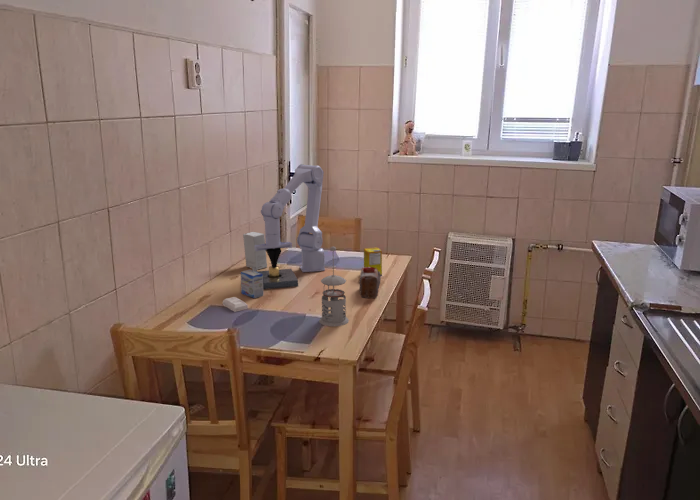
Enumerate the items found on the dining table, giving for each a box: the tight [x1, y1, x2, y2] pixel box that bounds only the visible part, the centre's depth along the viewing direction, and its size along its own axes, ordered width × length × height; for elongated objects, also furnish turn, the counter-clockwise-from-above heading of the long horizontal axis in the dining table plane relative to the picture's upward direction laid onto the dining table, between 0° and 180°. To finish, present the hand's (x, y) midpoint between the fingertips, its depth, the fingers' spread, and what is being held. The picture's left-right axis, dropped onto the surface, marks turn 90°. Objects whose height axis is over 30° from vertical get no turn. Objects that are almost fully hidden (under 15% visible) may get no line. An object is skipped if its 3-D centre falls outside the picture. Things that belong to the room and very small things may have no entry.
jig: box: [251, 267, 299, 290], centre depth 223 cm, size 16×16×4 cm
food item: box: [358, 267, 382, 299], centre depth 210 cm, size 14×8×10 cm, turn 178°
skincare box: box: [242, 231, 268, 271], centre depth 242 cm, size 8×6×15 cm
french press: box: [318, 246, 350, 327], centre depth 182 cm, size 10×12×25 cm
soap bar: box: [222, 296, 249, 313], centre depth 197 cm, size 5×9×3 cm, turn 39°
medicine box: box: [240, 269, 264, 299], centre depth 208 cm, size 8×4×9 cm, turn 47°
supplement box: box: [363, 246, 383, 277], centre depth 231 cm, size 6×6×11 cm
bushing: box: [268, 265, 280, 278], centre depth 224 cm, size 4×4×6 cm
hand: (274, 266), depth 222 cm, fingers closed
